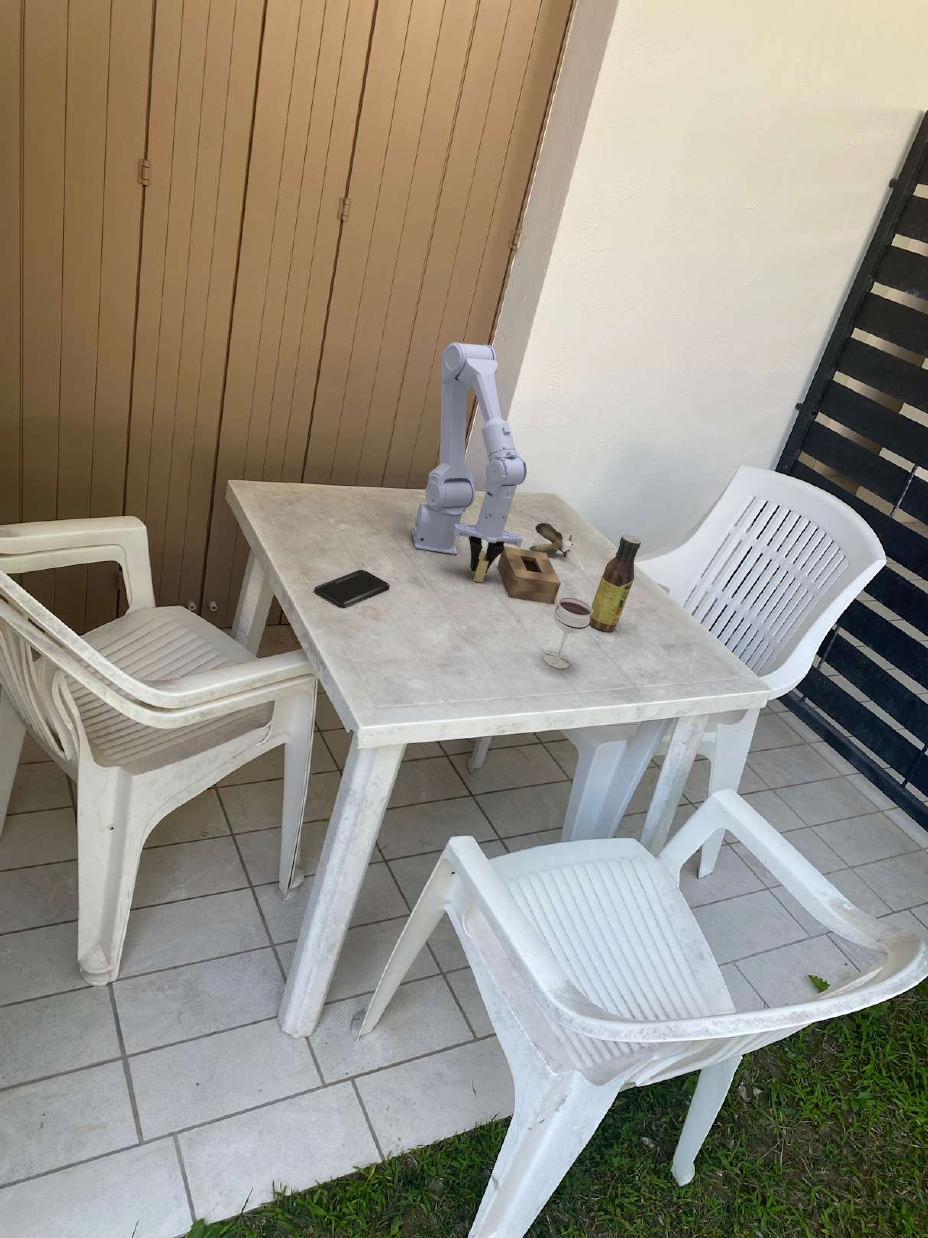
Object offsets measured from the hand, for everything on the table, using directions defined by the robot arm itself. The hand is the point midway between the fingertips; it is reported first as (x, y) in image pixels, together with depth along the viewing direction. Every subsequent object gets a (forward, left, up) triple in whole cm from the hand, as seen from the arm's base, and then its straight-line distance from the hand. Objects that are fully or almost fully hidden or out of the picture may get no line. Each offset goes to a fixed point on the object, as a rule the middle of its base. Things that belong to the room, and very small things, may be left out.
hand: (478, 570), depth 197 cm
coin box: (+11, 0, -2) cm, 11 cm away
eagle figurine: (+21, +19, -2) cm, 28 cm away
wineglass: (+11, -30, -2) cm, 32 cm away
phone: (-27, -14, -2) cm, 31 cm away
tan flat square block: (0, 0, -2) cm, 2 cm away
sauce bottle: (+25, -13, -2) cm, 28 cm away
